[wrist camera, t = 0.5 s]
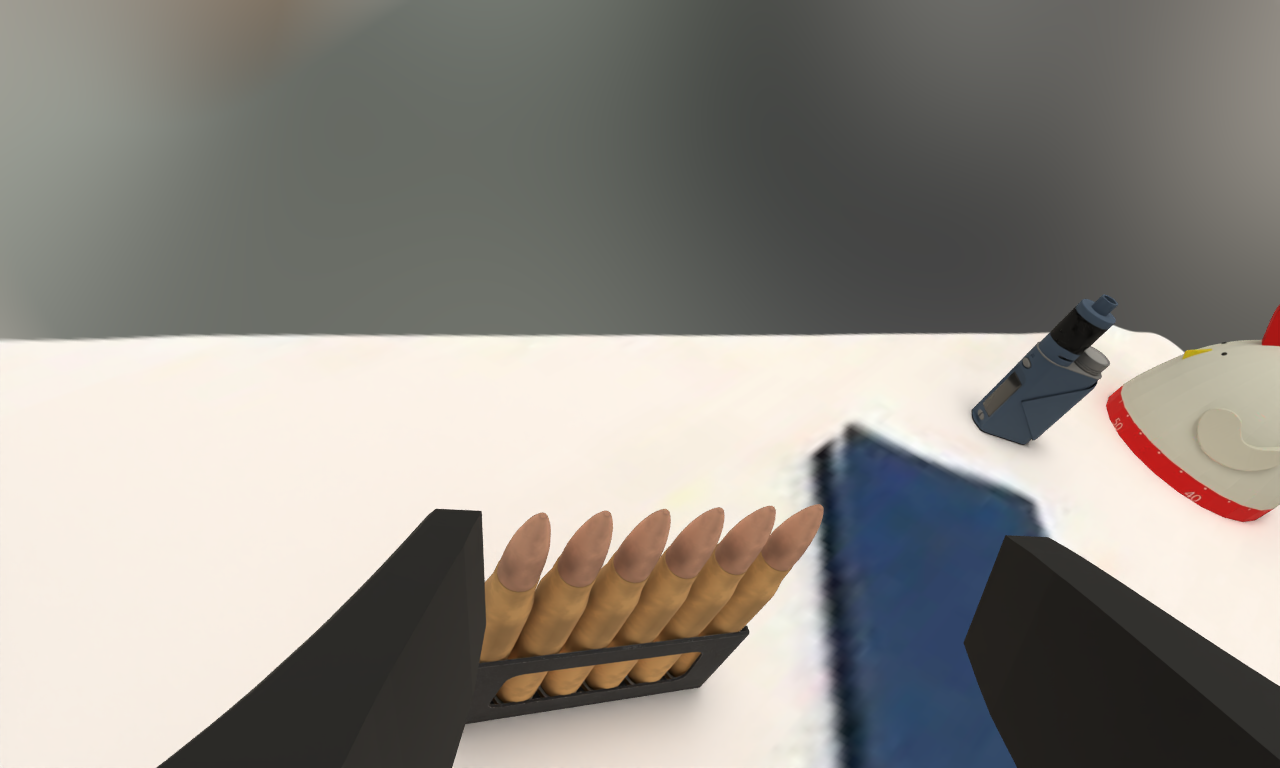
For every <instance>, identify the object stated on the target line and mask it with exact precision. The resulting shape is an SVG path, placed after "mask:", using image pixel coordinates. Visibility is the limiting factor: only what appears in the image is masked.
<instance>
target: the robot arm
mask: <svg viewBox="0 0 1280 768" xmlns="http://www.w3.org/2000/svg"><path fill="white" fill-rule="evenodd" d="M485 629H486V605H485V581H484V557H483V533H482V511H471V510H449V509H435V510H434V511H433V512H431V513H430V514H429V515H428V516H427V517H426V518H425V519H424V520H423V521H422V522H421V523H420V525H419V526H418V527H417V528H416V529H415V530H414V531H413V532H412V533H411V534H410V536H409V537H408V538H407V539H406V540H405V541H404V542H403V543H402V544H401V545H400V546H399V548H398V549H397V550H396V551H395V552H394V553H393V554H392V555H391V556H390V557H389V558H388V559H387V560H386V562H385V563H384V564H383V565H382V566H381V567H380V568H379V569H378V570H377V571H376V572H375V573H374V574H373V575H372V576H371V577H370V578H369V579H368V580H367V581H366V582H365V583H364V584H363V586H362V587H361V588H360V589H359V590H358V591H357V592H356V593H355V594H354V595H353V596H352V597H351V598H350V599H349V600H348V601H347V602H346V603H345V604H344V605H343V606H342V607H341V608H340V609H339V610H338V611H337V612H336V613H335V614H334V615H333V616H332V617H331V618H330V619H329V620H328V621H327V622H326V623H324V624H323V625H322V626H321V627H320V628H319V629H318V630H317V631H316V632H315V633H314V634H313V635H312V636H311V637H310V638H309V639H308V640H306V641H305V642H304V643H303V644H302V645H301V646H300V647H299V648H298V649H297V650H295V651H294V652H293V653H292V654H291V655H290V656H289V657H288V658H287V659H286V660H285V661H283V662H282V663H281V664H280V665H279V666H278V667H277V668H276V669H275V670H274V671H273V672H271V673H270V674H269V675H268V676H267V677H266V678H265V679H264V680H263V681H262V682H260V683H259V684H258V685H257V686H256V687H255V688H254V689H252V690H251V691H250V692H249V693H248V694H247V695H245V696H244V697H243V698H242V699H241V700H240V701H238V702H237V703H236V704H235V705H234V706H233V707H231V708H230V709H229V710H228V711H227V712H225V713H224V714H223V715H222V716H221V717H219V718H218V719H217V720H216V721H215V722H213V723H212V724H211V725H210V726H209V727H207V728H206V729H205V730H204V731H202V732H201V733H200V734H199V735H197V736H196V737H195V738H193V739H192V740H191V741H190V742H188V743H187V744H186V745H185V746H183V747H182V748H181V749H180V750H178V751H177V752H176V753H175V754H173V755H172V756H171V757H170V758H168V759H167V760H166V761H165V762H163V763H162V764H161V765H159V766H158V767H157V768H452V766H453V763H454V759H455V756H456V753H457V749H458V746H459V742H460V739H461V736H462V732H463V729H464V726H465V722H466V719H467V715H468V712H469V709H470V705H471V702H472V698H473V694H474V688H475V683H476V678H477V673H478V667H479V662H480V657H481V651H482V645H483V640H484V634H485ZM964 645H965V648H966V651H967V654H968V657H969V659H970V662H971V665H972V668H973V671H974V674H975V677H976V679H977V682H978V685H979V687H980V690H981V692H982V695H983V697H984V700H985V702H986V705H987V708H988V710H989V713H990V715H991V717H992V719H993V721H994V723H995V725H996V727H997V729H998V731H999V733H1000V735H1001V737H1002V739H1003V741H1004V743H1005V745H1006V747H1007V749H1008V751H1009V752H1010V754H1011V756H1012V758H1013V760H1014V762H1015V764H1016V766H1017V768H1280V686H1278V685H1277V684H1275V683H1274V682H1272V681H1270V680H1269V679H1267V678H1266V677H1264V676H1263V675H1261V674H1259V673H1258V672H1256V671H1255V670H1253V669H1252V668H1250V667H1248V666H1247V665H1245V664H1244V663H1242V662H1241V661H1239V660H1238V659H1236V658H1235V657H1233V656H1231V655H1230V654H1228V653H1227V652H1225V651H1224V650H1222V649H1221V648H1219V647H1218V646H1216V645H1215V644H1213V643H1212V642H1210V641H1209V640H1207V639H1205V638H1204V637H1202V636H1201V635H1199V634H1198V633H1196V632H1195V631H1193V630H1192V629H1190V628H1189V627H1187V626H1186V625H1184V624H1183V623H1181V622H1180V621H1178V620H1177V619H1175V618H1174V617H1172V616H1171V615H1169V614H1168V613H1166V612H1165V611H1163V610H1162V609H1160V608H1159V607H1157V606H1156V605H1154V604H1153V603H1151V602H1150V601H1148V600H1147V599H1145V598H1144V597H1142V596H1141V595H1139V594H1138V593H1136V592H1135V591H1133V590H1132V589H1130V588H1129V587H1127V586H1126V585H1124V584H1123V583H1121V582H1120V581H1118V580H1117V579H1115V578H1114V577H1112V576H1111V575H1109V574H1107V573H1106V572H1104V571H1103V570H1101V569H1100V568H1098V567H1097V566H1095V565H1094V564H1092V563H1090V562H1089V561H1087V560H1086V559H1084V558H1083V557H1081V556H1079V555H1078V554H1076V553H1074V552H1073V551H1071V550H1069V549H1068V548H1066V547H1064V546H1063V545H1061V544H1059V543H1057V542H1056V541H1054V540H1052V539H1050V538H1048V537H1029V536H1007V535H1005V538H1004V540H1003V543H1002V546H1001V548H1000V551H999V553H998V556H997V558H996V561H995V564H994V566H993V569H992V571H991V574H990V576H989V579H988V582H987V584H986V587H985V589H984V592H983V594H982V597H981V600H980V602H979V605H978V607H977V610H976V612H975V615H974V618H973V620H972V623H971V625H970V628H969V630H968V633H967V635H966V638H965V641H964Z"/></svg>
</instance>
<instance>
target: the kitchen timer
mask: <svg viewBox="0 0 1280 768" xmlns="http://www.w3.org/2000/svg"><path fill="white" fill-rule="evenodd" d="M1106 407H1107V411H1108V414H1109V418H1110V420H1111V422H1112V424H1113V425H1114V427H1115V429H1116V431H1117V432H1118V434H1119V436H1120V437H1121V438H1122V439H1123V441H1124V442H1125V443H1126V444H1127V445H1128V447H1129V448H1130V449H1131V450H1132V452H1133V453H1134V454H1135V455H1136V456H1137V457H1138V458H1139V459H1140V460H1141V461H1142V462H1143V463H1144V464H1145V465H1146V466H1147V467H1148V468H1149V469H1151V470H1152V471H1153V472H1154V473H1155V474H1156V475H1157V476H1158V477H1160V478H1161V479H1162V480H1164V481H1165V482H1166V483H1167V484H1169V485H1170V486H1171V487H1172V488H1174V489H1175V490H1176V491H1177V492H1179V493H1181V494H1182V495H1184V496H1185V497H1187V498H1188V499H1190V500H1192V501H1193V502H1195V503H1196V504H1198V505H1200V506H1201V507H1203V508H1205V509H1207V510H1209V511H1212V512H1214V513H1216V514H1218V515H1220V516H1222V517H1225V518H1229V519H1233V520H1237V521H1241V522H1245V521H1253V520H1256V519H1258V518H1259V517H1261V516H1263V515H1264V514H1266V513H1268V512H1270V511H1271V510H1273V509H1274V508H1276V507H1277V506H1278V505H1280V305H1279V306H1278V307H1277V309H1276V311H1275V312H1274V314H1273V316H1272V318H1271V321H1270V323H1269V325H1268V327H1267V330H1266V333H1265V335H1264V337H1263V339H1262V340H1243V341H1233V342H1224V343H1221V344H1216V345H1211V346H1207V347H1203V348H1199V349H1196V350H1188V351H1185V353H1184V354H1183V355H1181V356H1178V357H1176V358H1174V359H1171V360H1169V361H1167V362H1165V363H1162V364H1160V365H1158V366H1156V367H1154V368H1152V369H1150V370H1148V371H1146V372H1144V373H1142V374H1140V375H1138V376H1136V377H1135V378H1133V379H1131V380H1130V381H1128V382H1127V383H1125V384H1124V385H1123V386H1121V387H1120V388H1119V389H1118V390H1117V391H1115V392H1114V393H1113V394H1112V395H1111V396H1110V397H1109V398H1108V402H1107V405H1106Z"/></svg>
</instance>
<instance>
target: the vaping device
mask: <svg viewBox="0 0 1280 768" xmlns="http://www.w3.org/2000/svg"><path fill="white" fill-rule="evenodd" d="M1117 305H1118V303H1117V302H1116V301H1115V300H1114V299H1113V298H1111V297H1110V296H1108V295H1105V294H1104V295H1102V296H1101V297H1100V298H1099V299H1098V300H1097V301H1096V302H1094V301H1091V300H1088V299H1083V300H1082V301H1081V302H1080V303H1079V304H1078V305H1077V306H1076V307H1075V308H1076V309H1075V308H1074V309H1073V310H1072V311H1071V312H1070V313H1069V314H1068V315H1067V316H1066V317H1065V318H1064V319H1063V320H1062V321H1061V322H1060V323H1059V324H1058V325H1057V326H1056V327H1055V328H1054V329H1053V330H1052V331H1051V332H1050V333H1049V334H1048V335H1047V336H1046V337H1045V338H1044V339H1043V340H1042V341H1041V342H1038V343H1037V344H1036V345H1035V346H1034V347H1033V348H1032V349H1031V350H1030V351H1029V352H1028V353H1027V354H1026V356H1025V357H1024V358H1023V359H1022V360H1021V361H1020V362H1019V363H1018V364H1017V365H1016V366H1015V367H1014V368H1013V369H1012V370H1011V371H1010V372H1009V373H1008V374H1007V375H1006V376H1005V377H1004V378H1003V379H1002V380H1001V381H1000V382H999V383H998V384H997V385H996V386H995V387H994V388H993V389H992V390H991V391H990V392H989V393H988V394H987V395H986V396H985V397H984V398H983V399H982V400H981V401H980V402H979V403H978V404H977V405H976V406H975V407H974V408H973V409H972V411H973V412H972V416H973V419H974V421H975V422H976V424H977V425H978V426H979V427H980V429H981V430H982V431H984V432H987V433H990V434H992V435H995V436H999V437H1002V438H1005V439H1008V440H1011V441H1014V442H1017V443H1020V444H1027V443H1028V442H1029V441H1030V440H1031V439H1032V440H1035V439H1037V438H1038V437H1039V436H1040V435H1042V434H1043V433H1044V432H1045V431H1046V430H1047V429H1048V428H1049V427H1051V426H1052V425H1053V424H1054V423H1055V422H1056V421H1057V420H1059V419H1060V418H1061V417H1062V416H1063V415H1064V414H1065V413H1067V412H1068V411H1069V410H1070V409H1071V408H1072V407H1073V406H1074V405H1076V404H1077V403H1078V402H1079V401H1080V400H1081V399H1082V398H1084V397H1085V396H1086V395H1087V394H1088V393H1089V392H1090V391H1092V390H1093V389H1094V387H1095V386H1096V384H1097V381H1098V380H1099V379H1101V377H1102V375H1101V372H1102V371H1103V370H1105V369H1106V368H1107V367H1108V366H1109V365H1110V362H1109V360H1108V359H1107V358H1106V356H1105V355H1103V354H1102V353H1101V352H1100V351H1098V350H1097V349H1095V348H1093V347H1091V345H1092V344H1093V343H1094V342H1095V341H1096V340H1097V339H1098V338H1099V337H1100V336H1102V335H1103V334H1104V333H1105V332H1106V331H1107V330H1108V329H1109V328H1110V327H1111V326H1112V325H1113V324H1114V323H1115V322H1116V320H1115V318H1114V316H1113V315H1112V314H1111V313H1110V312H1111V311H1112V310H1113V309H1114V308H1115V307H1116V306H1117ZM1072 313H1073V314H1072ZM1060 330H1061V331H1060Z"/></svg>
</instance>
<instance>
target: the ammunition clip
mask: <svg viewBox="0 0 1280 768" xmlns="http://www.w3.org/2000/svg"><path fill="white" fill-rule="evenodd" d="M775 514H776V510H775V508H774V507H773V506H767V507H763V508H761V509H759V510H757V511H755V512H753V513H752V514H750V515H748V516H747V517H745V518H744V519H743V520H741V521H740V522H739V523H738V524H737V525H736V526H734V527H733V528H732V529H731V530H730V531H729V532H728V533H727V535H726V536H725V537H724V538H723V540H722V541H721V542H720V543H719V544H717V543H718V541H719V538H720V535H721V532H722V528H723V523H724V510H723V509H722V508H720V507H718V508H714V509H711V510H709V511H707V512H705V513H703V514H702V515H700V516H699V517H697V518H696V519H695V520H693V521H692V522H691V523H690V524H689V525H688V526H687V527H686V528H685V529H684V530H683V531H682V532H681V533H680V534H679V535H678V536H677V538H676V539H675V540H674V542H673V543H672V544H671V546H670V547H668V548H667V550H666V551H665V552H664V553H663V555H662V556H661V554H662V552H663V550H664V547H665V544H666V541H667V538H668V534H669V529H670V523H671V519H670V512H669V511H668V510H667V509H662V510H659V511H656V512H654V513H652V514H651V515H649V516H648V517H647V518H645V519H644V520H643V521H641V522H640V523H639V524H638V525H637V526H636V527H635V528H634V529H633V530H632V532H631V533H630V534H629V535H628V536H627V537H626V539H625V540H624V541H623V543H622V544H621V546H620V547H619V549H618V550H617V551H616V552H615V553H614V555H613V556H612V557H611V559H610V560H609V562H608V563H607V564H606V565H605V566H604V567H602V565H603V563H604V560H605V558H606V555H607V552H608V549H609V546H610V543H611V538H612V531H613V521H612V516H611V513H610V512H609V511H602V512H600V513H598V514H596V515H594V516H592V517H591V518H590V519H589V520H588V521H586V522H585V523H584V524H583V525H582V526H581V527H580V528H579V529H578V530H577V532H576V533H575V534H574V535H573V537H572V538H571V539H570V541H569V542H568V543H567V545H566V547H565V549H564V551H563V552H562V554H561V556H559V558H558V559H557V561H556V563H555V564H554V566H553V568H552V569H551V570H550V571H549V572H548V573H547V574H546V575H545V576H544V577H543V578H542V579H541V581H540V582H539V579H540V575H541V572H542V570H543V568H544V565H545V563H546V559H547V556H548V552H549V547H550V534H551V527H550V522H549V518H548V516H547V515H546V514H545V513H539V514H536V515H534V516H532V517H531V518H530V519H529V520H527V521H526V522H525V523H524V524H523V525H522V526H521V527H520V528H519V529H518V530H517V532H516V533H515V534H514V536H513V537H512V539H511V540H510V542H509V543H508V545H507V547H506V549H505V551H504V553H503V555H502V557H501V560H500V561H499V562H498V564H497V566H496V568H495V570H494V572H493V574H492V575H491V576H490V577H489V578H488V579H487V581H486V582H485V605H486V629H485V634H484V640H483V645H482V651H481V657H480V662H479V667H478V673H477V678H476V683H475V688H474V694H473V698H472V702H471V705H470V709H469V712H468V715H467V719H466V722H465V724H469V723H475V722H481V721H488V720H494V719H501V718H507V717H513V716H520V715H526V714H532V713H539V712H545V711H552V710H558V709H564V708H571V707H577V706H584V705H590V704H596V703H603V702H609V701H615V700H622V699H628V698H635V697H641V696H647V695H654V694H660V693H667V692H673V691H679V690H686V689H692V688H698V687H701V686H702V684H703V683H704V682H705V681H706V680H707V679H708V678H709V677H710V676H711V675H712V674H713V673H714V671H715V670H716V669H717V668H718V667H719V666H720V665H721V664H722V663H723V662H724V661H725V660H726V659H727V657H728V656H729V655H730V654H731V653H732V652H733V651H734V650H735V649H736V648H737V647H738V646H739V644H740V643H741V642H742V641H743V640H744V639H745V638H746V637H747V636H748V635H749V629H748V627H747V626H745V625H746V624H747V623H748V622H749V621H750V620H751V619H752V618H753V617H754V616H755V615H756V614H757V613H758V612H759V611H760V610H761V609H762V608H763V606H764V605H765V604H766V603H767V602H768V601H769V600H770V599H771V598H772V597H773V596H774V594H775V592H776V591H777V589H778V587H779V585H780V583H781V581H782V580H783V578H784V577H785V576H786V575H787V574H788V572H789V571H790V570H791V569H792V567H793V565H794V564H795V563H796V562H797V561H798V560H799V559H800V557H801V556H802V555H803V554H804V552H805V551H806V549H807V548H808V546H809V545H810V544H811V542H812V540H813V538H814V537H815V535H816V533H817V531H818V528H819V526H820V524H821V521H822V517H823V507H822V505H819V504H818V505H813V506H810V507H807V508H805V509H803V510H801V511H800V512H798V513H796V514H794V515H793V516H791V517H790V518H788V519H787V520H786V521H784V522H783V523H782V524H781V525H780V526H779V527H777V528H776V529H775V530H774V531H773V532H772V534H771V531H772V528H773V525H774V521H775ZM770 534H771V535H770ZM660 556H661V557H660ZM601 567H602V568H601ZM538 582H539V584H538ZM537 584H538V586H537ZM536 587H537V588H536ZM535 589H536V590H535ZM744 626H745V627H744ZM743 627H744V628H743Z"/></svg>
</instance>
